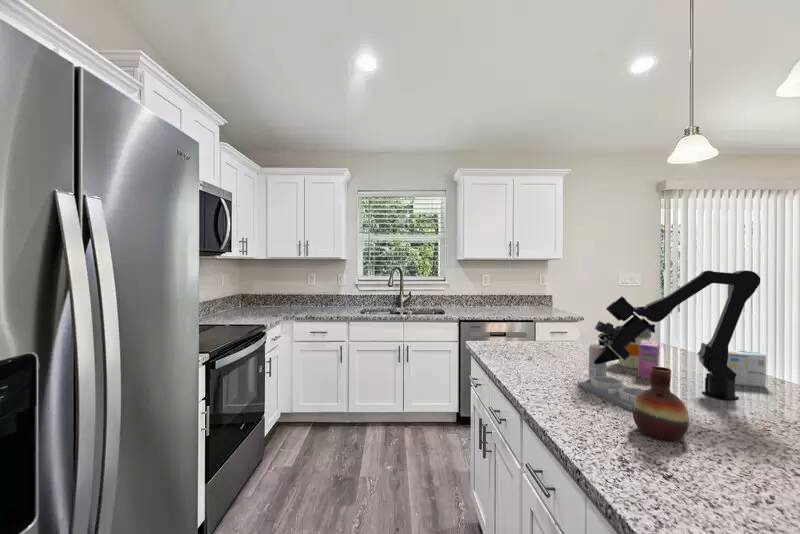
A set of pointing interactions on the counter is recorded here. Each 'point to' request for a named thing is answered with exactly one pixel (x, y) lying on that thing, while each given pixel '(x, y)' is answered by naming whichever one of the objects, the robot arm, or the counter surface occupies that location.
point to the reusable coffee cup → (634, 351)
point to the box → (647, 357)
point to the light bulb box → (748, 367)
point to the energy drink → (593, 354)
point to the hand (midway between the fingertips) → (593, 361)
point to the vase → (660, 409)
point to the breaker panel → (612, 390)
